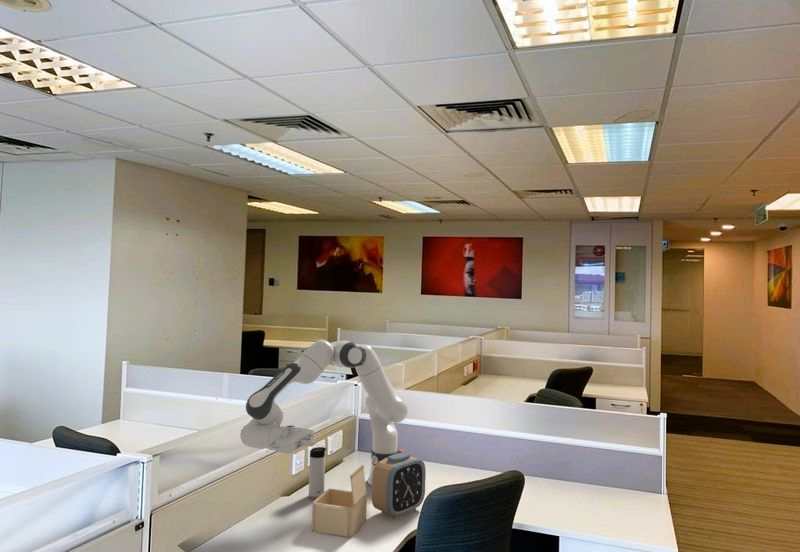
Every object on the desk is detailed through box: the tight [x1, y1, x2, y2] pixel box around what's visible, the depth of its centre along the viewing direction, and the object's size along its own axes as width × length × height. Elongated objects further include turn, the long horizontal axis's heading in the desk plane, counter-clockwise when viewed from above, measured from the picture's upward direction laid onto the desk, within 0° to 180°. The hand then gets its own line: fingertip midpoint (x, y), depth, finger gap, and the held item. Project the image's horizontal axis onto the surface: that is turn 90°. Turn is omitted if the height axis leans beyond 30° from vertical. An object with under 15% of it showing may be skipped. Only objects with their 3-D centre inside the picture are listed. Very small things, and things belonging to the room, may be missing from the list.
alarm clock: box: [371, 451, 427, 520], centre depth 219 cm, size 21×10×22 cm, turn 137°
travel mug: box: [308, 446, 327, 500], centre depth 233 cm, size 6×7×20 cm
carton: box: [311, 488, 368, 539], centre depth 206 cm, size 16×16×10 cm
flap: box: [349, 464, 367, 505], centre depth 204 cm, size 1×12×10 cm, turn 164°
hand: (314, 442), depth 209 cm, fingers closed
